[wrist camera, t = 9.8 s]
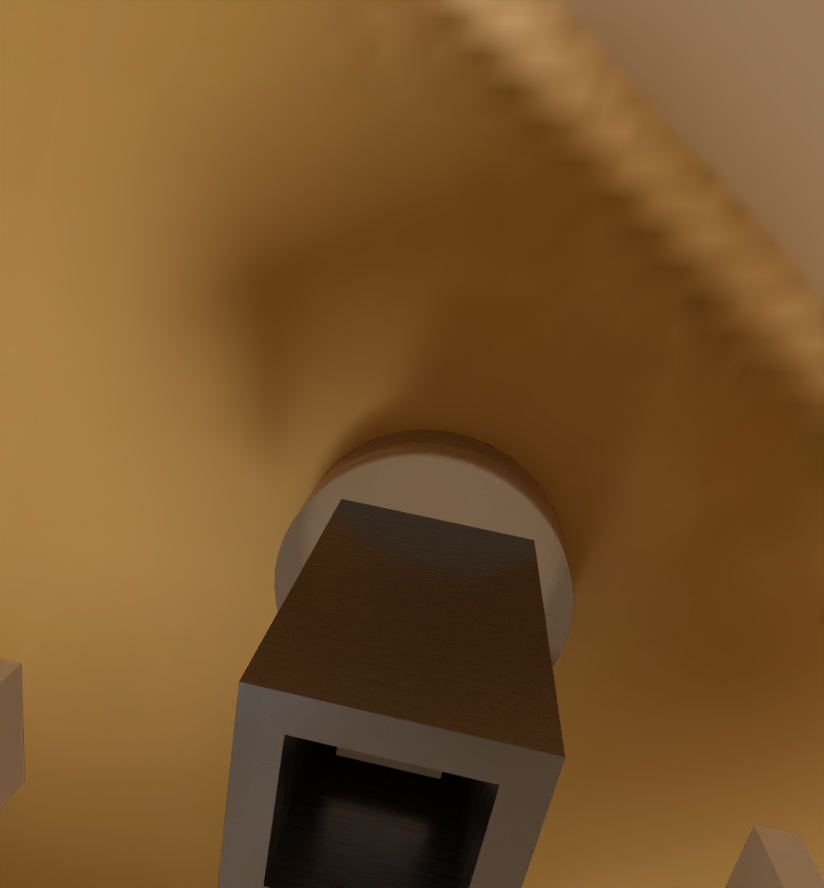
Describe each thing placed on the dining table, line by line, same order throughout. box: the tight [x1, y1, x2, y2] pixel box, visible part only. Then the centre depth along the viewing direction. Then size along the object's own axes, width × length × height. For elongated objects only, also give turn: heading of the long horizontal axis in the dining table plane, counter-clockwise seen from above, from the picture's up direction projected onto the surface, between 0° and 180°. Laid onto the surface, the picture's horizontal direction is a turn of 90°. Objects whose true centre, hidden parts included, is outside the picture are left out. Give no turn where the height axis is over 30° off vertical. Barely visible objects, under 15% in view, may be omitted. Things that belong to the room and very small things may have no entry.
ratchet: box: [275, 431, 574, 779], centre depth 18 cm, size 8×20×7 cm, turn 170°
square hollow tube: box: [218, 499, 565, 888], centre depth 14 cm, size 5×5×7 cm
